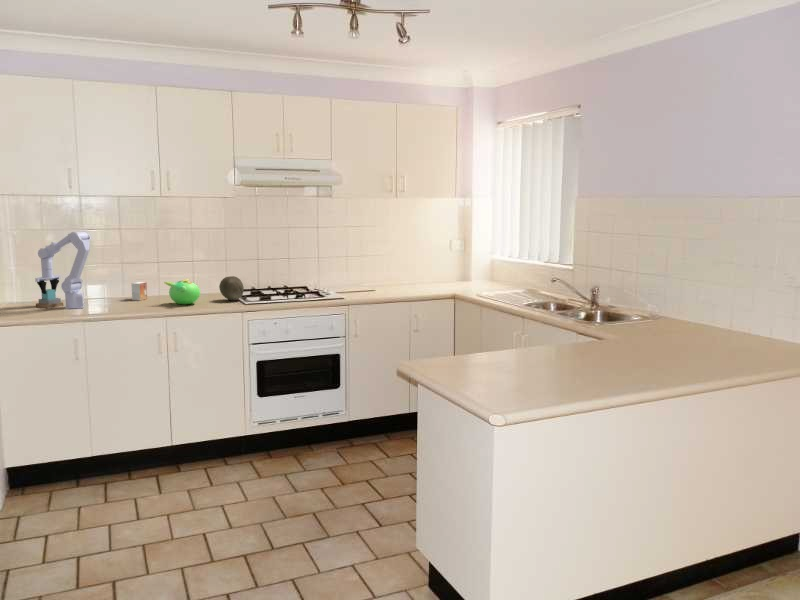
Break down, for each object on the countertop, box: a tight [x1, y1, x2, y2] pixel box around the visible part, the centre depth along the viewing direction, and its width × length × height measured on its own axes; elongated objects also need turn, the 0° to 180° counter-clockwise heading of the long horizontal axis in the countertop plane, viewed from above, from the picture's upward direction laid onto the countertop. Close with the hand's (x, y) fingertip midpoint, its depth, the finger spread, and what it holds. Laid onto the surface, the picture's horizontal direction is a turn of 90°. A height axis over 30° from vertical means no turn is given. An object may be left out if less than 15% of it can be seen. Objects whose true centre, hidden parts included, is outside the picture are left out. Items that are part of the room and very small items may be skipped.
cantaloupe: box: [218, 275, 245, 302], centre depth 415 cm, size 14×14×15 cm
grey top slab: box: [38, 297, 61, 305], centre depth 389 cm, size 8×8×2 cm
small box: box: [131, 281, 148, 301], centre depth 415 cm, size 8×6×10 cm
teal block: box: [40, 288, 57, 300], centre depth 389 cm, size 5×5×5 cm
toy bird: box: [163, 278, 201, 306], centre depth 400 cm, size 18×17×15 cm
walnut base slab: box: [35, 302, 64, 309], centre depth 390 cm, size 10×10×2 cm
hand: (48, 293), depth 389 cm, fingers open, 6 cm apart
